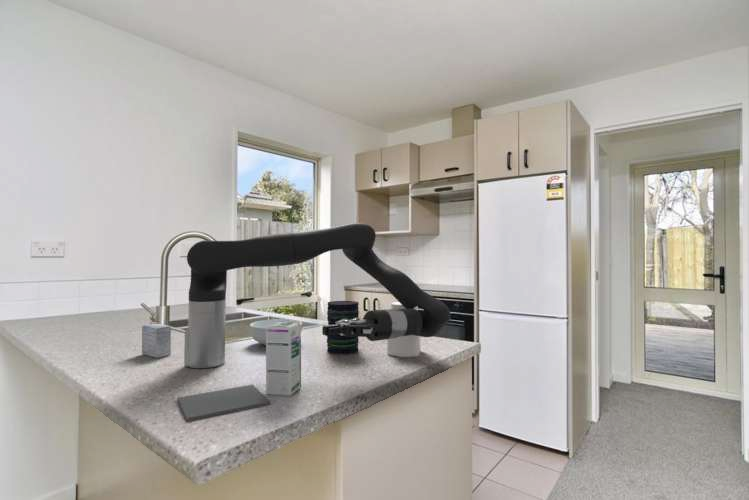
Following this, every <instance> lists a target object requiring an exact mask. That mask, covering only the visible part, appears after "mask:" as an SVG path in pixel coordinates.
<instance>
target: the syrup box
mask: <svg viewBox="0 0 749 500" xmlns="http://www.w3.org/2000/svg"><path fill="white" fill-rule="evenodd" d="M301 334H302V331H301V324H300V323H296V322H278V323H276V324H274V325H271V326H268V327H266V346H265V369H266V370H265V372H266V373H265V382H266V383H265V384H266V385H265V386H266V387H265V392H266V394H267V395H272V396H284V397H291V396H292V395H293V394H294V393H295V392H297V391H298V390H299V389H301V387H302V336H301Z"/></svg>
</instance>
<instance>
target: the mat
mask: <svg viewBox="0 0 749 500" xmlns="http://www.w3.org/2000/svg"><path fill="white" fill-rule="evenodd" d="M177 403H178V404H179V407H180V409H181V412H182V414H183V416H184V419H185V421H186V422H190V421H195V420H201V419H205V418H211V417H216V416H219V415H225V414H231V413H235V412H239V411H244V410H249V409H254V408H259V407H263V406H269V405H271V400H270V399H269V398H268V397H266V396H265V395H264V394H263V393H262V392H261V391H260V390H259V389H258V388H257V387H256V386H255V385H253V384H248V385H242V386H237V387H236V386H235V387H231V388H224V389H220V390H213V391H206V392H201V393H196V394H195V393H194V394H191V395H185V396H179V397H177Z"/></svg>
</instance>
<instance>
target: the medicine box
mask: <svg viewBox="0 0 749 500" xmlns="http://www.w3.org/2000/svg"><path fill="white" fill-rule="evenodd" d="M171 345H172V326H171V325H167V324H161V323H151V324H145V325H142V327H141V355H143V356H148V357H150V358H151V357H152V358H155V359H159V358H163V357H168V356H171V355H172V350H171V349H172V347H171Z"/></svg>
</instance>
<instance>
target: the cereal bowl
mask: <svg viewBox="0 0 749 500" xmlns="http://www.w3.org/2000/svg"><path fill="white" fill-rule="evenodd" d="M278 322H296V323H300V324H301V332H303V331H302V330H303V323H302V321H300V320H296V319H291V318H289V319H287V318H286V319H285V318H278V319H277V318H275V319H263V320H258V321H254V322H251V323H250V324H249V332H250V336H251V338H252V339H253V340H254V341H255V342H257V343H260V344H261V345H262V344H263V345H264V346H265V345H266V327H268V326H271V325H274V324H276V323H278Z"/></svg>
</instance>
